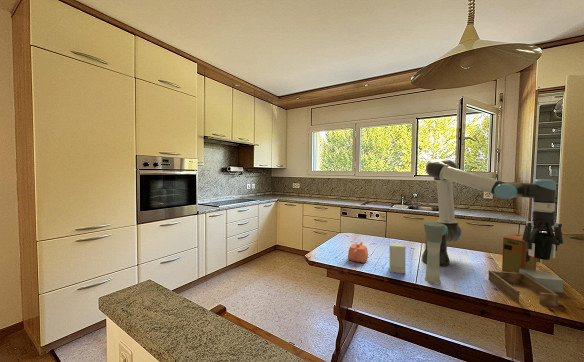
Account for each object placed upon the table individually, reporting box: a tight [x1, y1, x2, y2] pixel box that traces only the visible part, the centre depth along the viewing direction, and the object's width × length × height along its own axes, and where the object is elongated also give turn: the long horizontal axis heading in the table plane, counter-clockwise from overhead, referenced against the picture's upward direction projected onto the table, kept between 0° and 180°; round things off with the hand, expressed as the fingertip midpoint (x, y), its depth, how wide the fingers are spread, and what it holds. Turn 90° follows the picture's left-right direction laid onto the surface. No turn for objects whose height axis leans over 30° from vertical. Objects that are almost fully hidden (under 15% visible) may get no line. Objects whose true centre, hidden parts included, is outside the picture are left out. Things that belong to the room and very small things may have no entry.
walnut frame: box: [487, 270, 560, 308], centre depth 114 cm, size 15×22×5 cm
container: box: [423, 221, 445, 284], centre depth 125 cm, size 10×10×30 cm
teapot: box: [347, 241, 369, 264], centre depth 155 cm, size 12×18×10 cm, turn 149°
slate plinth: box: [519, 269, 564, 294], centre depth 120 cm, size 11×11×6 cm
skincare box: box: [388, 242, 407, 275], centre depth 137 cm, size 8×7×16 cm
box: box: [501, 233, 537, 273], centre depth 136 cm, size 17×9×20 cm, turn 117°
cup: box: [533, 231, 555, 261], centre depth 119 cm, size 8×8×12 cm
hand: (541, 256), depth 119 cm, fingers closed on cup, 8 cm apart
